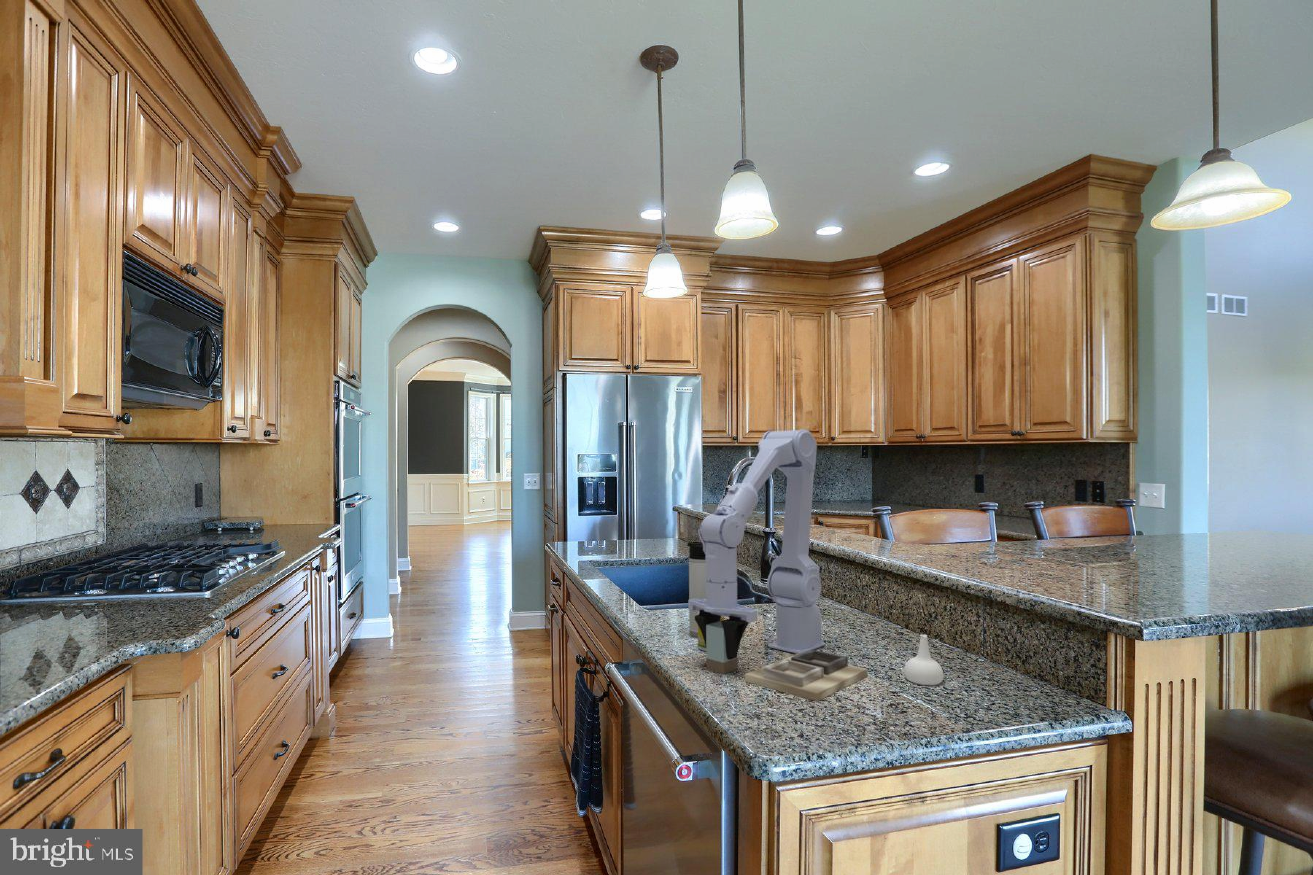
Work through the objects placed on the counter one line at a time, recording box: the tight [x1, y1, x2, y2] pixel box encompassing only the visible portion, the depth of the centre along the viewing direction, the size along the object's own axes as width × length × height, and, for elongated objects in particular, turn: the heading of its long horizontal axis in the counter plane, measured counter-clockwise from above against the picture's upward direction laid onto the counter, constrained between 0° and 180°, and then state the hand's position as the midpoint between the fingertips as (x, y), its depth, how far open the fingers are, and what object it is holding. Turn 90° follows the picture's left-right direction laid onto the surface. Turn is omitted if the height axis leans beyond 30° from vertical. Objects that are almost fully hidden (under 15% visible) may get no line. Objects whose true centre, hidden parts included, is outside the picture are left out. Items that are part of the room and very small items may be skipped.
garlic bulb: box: [903, 634, 944, 686], centre depth 114 cm, size 6×6×8 cm
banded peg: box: [705, 621, 739, 675], centre depth 121 cm, size 4×4×8 cm
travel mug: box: [687, 541, 706, 639], centre depth 145 cm, size 6×7×20 cm
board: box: [744, 649, 869, 702], centre depth 115 cm, size 17×14×3 cm
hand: (721, 655), depth 121 cm, fingers closed on banded peg, 4 cm apart
